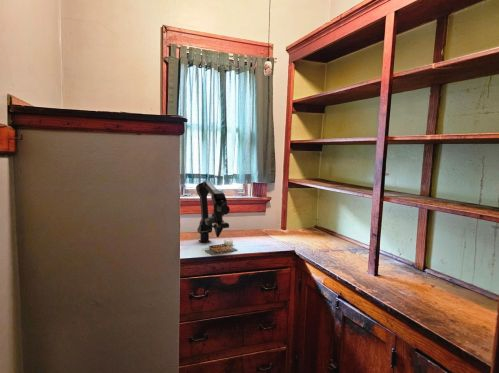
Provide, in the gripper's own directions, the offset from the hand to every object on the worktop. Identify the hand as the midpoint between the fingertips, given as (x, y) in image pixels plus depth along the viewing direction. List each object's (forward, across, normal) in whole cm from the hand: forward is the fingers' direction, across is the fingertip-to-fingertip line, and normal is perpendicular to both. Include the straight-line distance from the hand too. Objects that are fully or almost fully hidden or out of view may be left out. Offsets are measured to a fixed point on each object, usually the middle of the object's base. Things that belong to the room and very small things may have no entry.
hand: (217, 237), depth 197 cm
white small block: (+8, -5, +10) cm, 14 cm away
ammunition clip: (+6, -1, 0) cm, 6 cm away
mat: (+8, +5, 0) cm, 9 cm away
